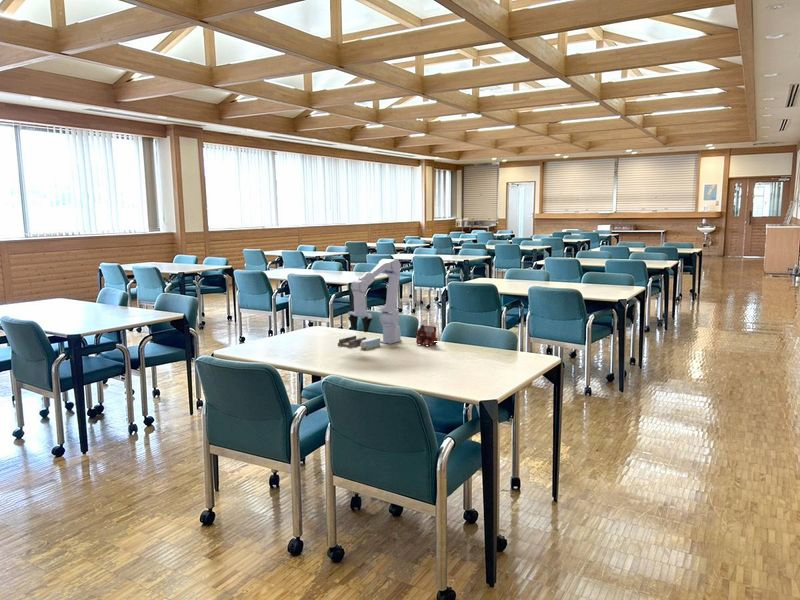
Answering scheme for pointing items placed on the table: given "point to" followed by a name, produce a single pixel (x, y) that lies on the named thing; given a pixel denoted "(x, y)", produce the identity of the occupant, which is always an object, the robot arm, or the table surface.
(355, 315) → the robot arm
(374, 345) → the dome-topped blue pillar
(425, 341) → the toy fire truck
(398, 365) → the table surface
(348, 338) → the cradle
